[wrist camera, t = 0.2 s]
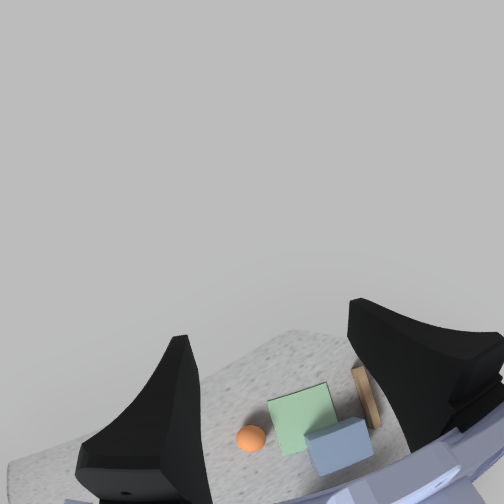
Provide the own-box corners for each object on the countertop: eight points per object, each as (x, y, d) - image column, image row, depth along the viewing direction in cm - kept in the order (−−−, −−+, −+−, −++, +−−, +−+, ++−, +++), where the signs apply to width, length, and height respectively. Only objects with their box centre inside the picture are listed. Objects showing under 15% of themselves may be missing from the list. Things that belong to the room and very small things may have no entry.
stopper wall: (375, 424, 36) (381, 426, 34) (368, 427, 36) (374, 429, 33) (357, 366, 40) (363, 365, 38) (350, 369, 40) (356, 368, 37)
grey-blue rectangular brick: (361, 448, 34) (374, 454, 30) (313, 467, 33) (320, 476, 29) (352, 416, 37) (364, 419, 32) (303, 434, 36) (309, 441, 31)
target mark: (341, 435, 35) (342, 436, 35) (283, 456, 34) (283, 456, 34) (325, 382, 39) (325, 382, 39) (266, 401, 38) (266, 401, 38)
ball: (268, 444, 35) (270, 450, 32) (241, 451, 35) (240, 457, 31) (260, 420, 37) (261, 424, 33) (233, 427, 36) (231, 431, 33)
